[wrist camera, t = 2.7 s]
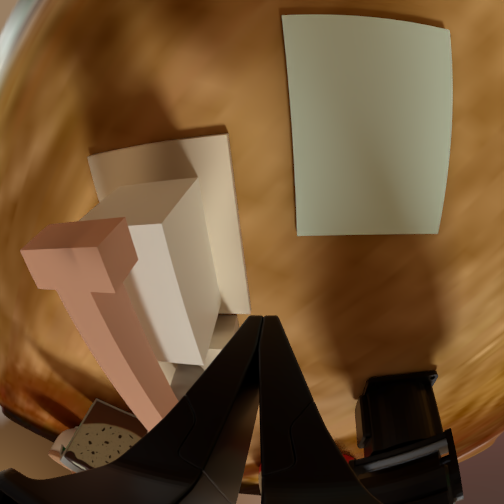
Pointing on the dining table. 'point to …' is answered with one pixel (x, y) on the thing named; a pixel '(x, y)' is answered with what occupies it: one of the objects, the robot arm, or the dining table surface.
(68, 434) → the lidded jar
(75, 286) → the latch bar
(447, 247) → the dining table surface
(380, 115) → the mat
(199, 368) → the housing
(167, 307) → the block
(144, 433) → the food container
